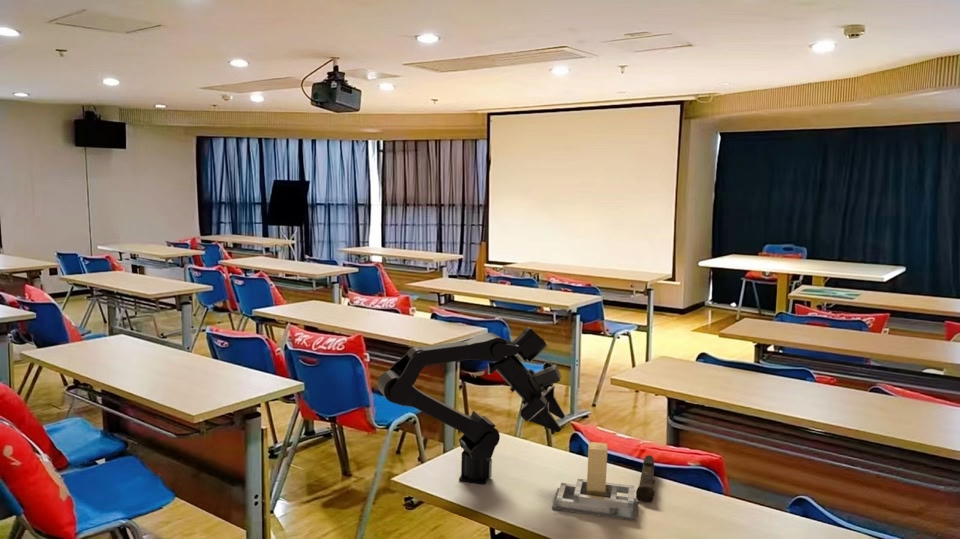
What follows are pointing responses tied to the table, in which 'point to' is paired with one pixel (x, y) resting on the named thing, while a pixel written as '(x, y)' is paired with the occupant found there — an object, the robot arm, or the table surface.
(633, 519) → the mat
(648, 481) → the dark brown rod
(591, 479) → the pin
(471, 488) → the table surface
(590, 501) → the grey slotted holder
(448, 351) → the robot arm
